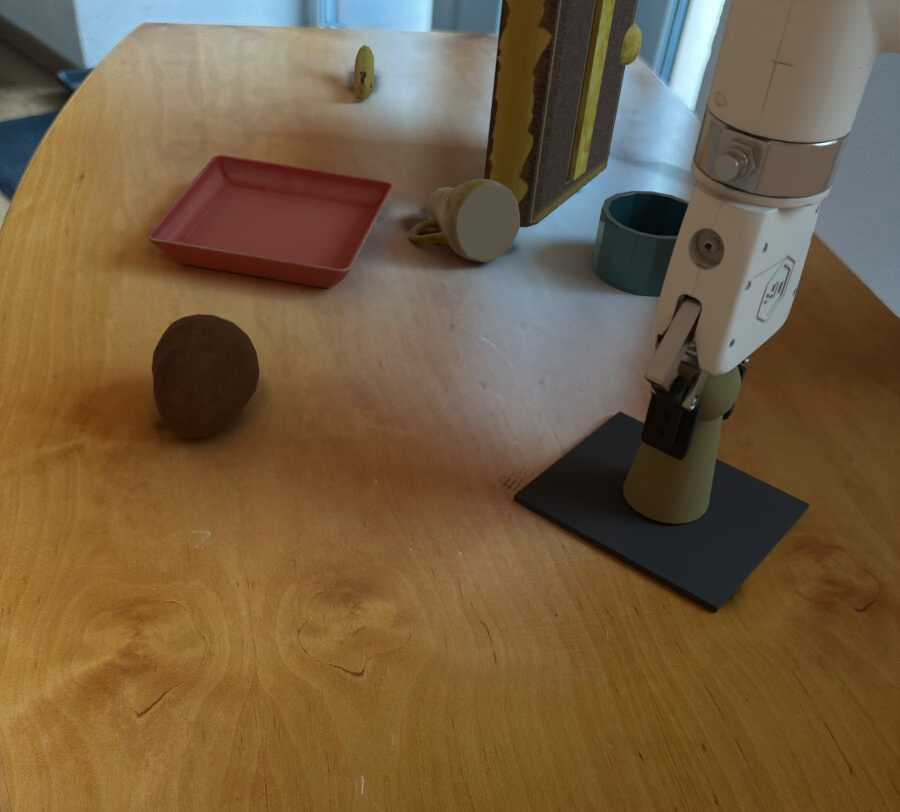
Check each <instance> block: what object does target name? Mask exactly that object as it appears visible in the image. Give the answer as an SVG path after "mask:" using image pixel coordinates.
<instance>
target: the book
mask: <svg viewBox="0 0 900 812" xmlns="http://www.w3.org/2000/svg"><path fill="white" fill-rule="evenodd" d="M638 1H639V0H501V9H500V17H499V18H500V20H499V28H498V38H497V48H496V56H495V67H494V68H495V69H494V77H493V87H492V96H491V105H490V115H489V124H488V125H489V127H488V135H487V144H486V145H487V146H486V154H485V155H486V156H485V163H484V173H483V179H488V180H493V181H496V182H498V183H500V184H502V185H504V186H505V187H507V188H508V189H509V190H510V191H511V192H512V194H513V195H514V197H515V198H516V201H517V204H518V207H519V213H520V227H526V228H527V227H531V226H534V225H538V224H539V223H540V222H542V221H543V220H544V219H545V218H547V217H548V216H549V215H550V214H552V212H554V211H555V210H556V209H558V208H559V207H560V206H562V204H564V203H565V202H566V201H568V200H569V199H570V198H571V197H572V196H574V195H575V194H576V193H578V192H579V191H580V190H581V189H583V188H584V187H585V186H586V185H587V184H589V183H590V182H591V181H592V180H593V179H595V178H596V177H597V176H598V175H600V174H601V173H602V172H604V171H605V170H606V169H607V168H606V167H608V162H609V157H610V152H611V146H612V142H613V141H612V140H613V135H614V130H615V125H616V119H617V114H618V108H619V103H620V97H621V94H622V93H621V92H622V89H623V88H622V87H623V83H624V82H623V81H624V77H625V71H626V67H627V66H628V65H631V64H632V63H634V62H635V61H636V60H637V57H638V55H639V53H640V52H641V47H642V41H643V35H642V34H643V33H642V29H641V28H640V27H639V25H637V23H636V22H635V17H636V12H637V7H638ZM605 168H606V169H605ZM604 169H605V170H604ZM600 172H601V173H600ZM599 173H600V174H599ZM588 182H589V183H588ZM583 186H584V187H583Z"/></svg>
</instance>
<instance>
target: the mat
mask: <svg viewBox="0 0 900 812" xmlns="http://www.w3.org/2000/svg"><path fill="white" fill-rule="evenodd" d="M643 426H644V422H643V421H641V420H639V419H637V418H634V417H632V416H631V415H629V414H627V413H624V412H622V411H618V412H617V413H616V414H614V415H613V416H612V417H611V418H609V419H608V420H607V421H605V422H604V423H602V424H601V426H599V427H598V428H596V429H595V430H594V431H593V432H592V433H590V434H589V435H587V437H585V438H584V439H583V440H581V441H580V442H579V443H578V444H577V445H575V446H574V447H573V448H571V449H570V450H569V451H568V452H566V453H565V454H564V455H562V456H561V457H560V458H558V459H557V460H556V461H555V462H554V463H552V464H550V466H548V468H546V469H545V470H544V471H542V472H541V473H540V474H538V476H536V477H535V478H534V479H532V480H531V481H530V482H529V483H527V484H526V485H525V486H523V487H522V488H521V489H520V490H518V491H517V492H516V493H515V494H514V495H513V501H514V502H516V503H517V504H519V505H522V507H525V508H527V509H528V510H530V511H532V512H534V513H536V514H538V515H539V516H541V517H543V518H545V519H547V520H548V521H550V522H552V523H553V524H556V525H557V526H559V527H561V528H563V529H564V530H566V531H567V532H570V533H572V534H573V535H575V536H577V537H579V538H580V539H582V540H584V541H586V542H587V543H590V544H591V545H593V546H594V547H596V548H599V549H600V550H602V551H603V552H606V553H607V554H609V555H611V556H612V557H614V558H617V560H620V561H622V562H624V563H625V564H627V565H629V566H630V567H633V568H635V569H636V570H638V571H639V572H641V573H643V574H645V575H647V576H649V577H650V578H652V579H654V580H655V581H657V582H660V583H661V584H663V585H665V586H667V587H669V588H670V589H672V590H674V591H676V592H677V593H679V594H681V595H683V596H685V597H687V598H688V599H689V600H691V601H693V602H695V603H697V604H698V605H701V606H702V607H704V608H705V609H708V610H710V611H711V612H713V613H717V612H718V611H720V609H721V608H722V607H723V606H724V604H725V603H726V602H727V601H728V600H729V599H730V597H732V596H733V594H734V593H735V592H736V591H737V589H738V588H739V587H741V585H742V584H743V583H744V582H745V581H746V579H747V578H749V576H750V575H751V574H752V573H753V572H754V570H755V569H756V568H757V567H758V566H759V565H760V564H761V563H762V561H764V559H765V558H766V557H767V556H768V555H769V554H770V552H771V551H772V550H773V549H774V548H775V547H776V546H777V545H778V543H779V542H780V541H781V540H782V539H783V537H784V536H786V534H787V533H788V532H789V531H790V530H791V529H792V528H793V526H794V525H795V524H796V523H797V522H798V521H799V520H800V518H801V517H802V516H804V514H805V513H806V511H808V510H809V507H810V503H808V502H806V501H804V500H802V499H800V498H798V497H796V496H794V495H792V494H790V493H788V492H786V491H784V490H782V489H780V488H778V487H775V486H773V485H771V484H769V483H768V482H765V481H764V480H761V479H759V478H757V477H755V476H753V475H751V474H749V473H747V472H746V471H743V470H741V469H739V468H737V467H735V466H733V465H731V464H729V463H727V462H725V461H723V460H721V459H719V458H716V462H715V469H714V475H713V481H712V487H711V493H710V500H709V505H708V507H707V510H706V512H705V513H704V514H703V515H702V516H701V517H700V518H698V519H696V520H693V521H691V522H687V523H677V524H674V523H665V522H660V521H657V520H653V519H650V518H648V517H646V516H644V515H642V514H641V513H639V512H637V511H636V510H635V509H634V508H633V507H632V506H631V505H630V504H628V502H627V500H626V498H625V496H624V494H623V485H624V483H625V480H626V478H627V476H628V473H629V471H630V469H631V466H632V464H633V462H634V459H635V457H636V455H637V453H638V450H639V448H640V446H641V443H642V439H641V434H642V430H643Z"/></svg>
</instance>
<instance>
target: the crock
mask: <svg viewBox="0 0 900 812" xmlns="http://www.w3.org/2000/svg"><path fill="white" fill-rule="evenodd" d="M689 202H690V200H686V199H683V198H681V197H678V196H676V195H673V194H667V193H663V192H657V191H653V190H630V191H629V190H628V191H623V192H618V193H614V194H613V195H610V196H609V197H607V198H606V199H605V200H604V201H603V204H602V207H601V209H600V215H599V221H598V226H597V231H596V232H597V233H596V236H595V242H594V246H593V252H592V258H591V266H592V270H593V271H594V274H596V276H597V277H598V278H600V279H601V280H602V281H603V282H604V283H606V284H608V285H610V286H612V287H614V288H616V289H618V290H621V291H623V292H626V293H631V294H635V295H639V296H647V297H649V296H650V297H660V295H661V291H662V287H663V284H664V280H665V277H666V273H667V270H668V266H669V263H670V260H671V256H672V253H673V250H674V247H675V243H676V240H677V237H678V234H679V231H680V228H681V225H682V222H683V219H684V216H685V213H686V210H687V208H688V205H689Z"/></svg>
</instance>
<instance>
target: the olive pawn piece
mask: <svg viewBox="0 0 900 812" xmlns="http://www.w3.org/2000/svg"><path fill="white" fill-rule="evenodd" d="M688 349H689V350H691V351H693V352H695V353H697V349H696V345H695V346H694V345H693V346H689V347H688ZM695 370H696V369H695V368H693V367H691V366H689V365H686V364H684V363H682V362H680V364H679V367H678V373H679V376H681V377H683V378H685V379H686V381H687V383H688V385H689V384H690V382H691V379H692V377H693V374H694V372H695ZM741 388H742V384H741V377H740V372H739V369H738V366H736V367H734V368H733V369H732V370H730V371H729V372H727V373H725V374H722V375H719V376H713V375H711V374H710V373H709V376H708V378H707V380H706V383H705V385H704V388H703V390H702V392H701V395H700V397H699V400H698V402H697V404H698V405H701V406H702V409H701V412H700V416H699V419H698V422H697V426H696V429H695V432H694V436H693V439H692V442H691V446H690V449H689V452H688V455H687V456H686V457H685V458H683V459H682V460H678V459H676V458H674V457H672V456H670V455H667V454H665V453H663V452H661V451H659V450H657V449H655V448H653V447H651V446H649V445H647V444H645V443H644V442H643V441H642V443H641V446H640V448H639V450H638V453H637V455H636V457H635V459H634V462H633V464H632V466H631V469H630V471H629V473H628V476H627V478H626V480H625V483H624V485H623V494H624V496H625V498H626V500H627V502H628V504H630V505H631V506H632V507H633V508H634V509H635V510H636V511H637V512H639V513H641V514H642V515H644V516H646V517H648V518H650V519H653V520H657V521H660V522H665V523H674V524H677V523H687V522H691V521H693V520H696V519H698V518H700V517H701V516H702V515H703V514H704V513H705V512H706V510H707V507H708V505H709V500H710V493H711V487H712V481H713V475H714V469H715V462H716V459H717V456H718V449H719V443H720V438H721V432H722V431H721V430H722V424H723V420H722V419H723V414H725V413H726V412H727V411H729V410H730V409H731V408H732V406H733V405H734V403H735V404H736V402H737V399H738V396H739V394H740V391H741ZM734 406H735V405H734Z"/></svg>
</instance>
